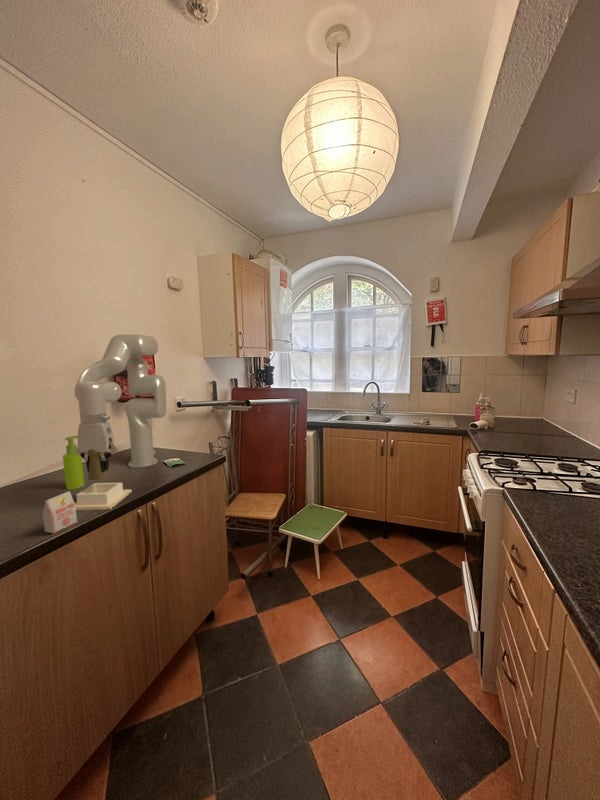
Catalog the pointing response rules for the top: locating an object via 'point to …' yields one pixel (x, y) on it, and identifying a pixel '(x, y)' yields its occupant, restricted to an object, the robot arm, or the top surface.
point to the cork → (95, 466)
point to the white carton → (59, 512)
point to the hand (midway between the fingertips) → (98, 470)
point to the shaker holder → (101, 496)
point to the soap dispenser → (73, 466)
